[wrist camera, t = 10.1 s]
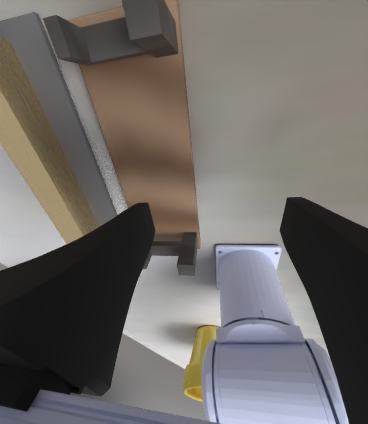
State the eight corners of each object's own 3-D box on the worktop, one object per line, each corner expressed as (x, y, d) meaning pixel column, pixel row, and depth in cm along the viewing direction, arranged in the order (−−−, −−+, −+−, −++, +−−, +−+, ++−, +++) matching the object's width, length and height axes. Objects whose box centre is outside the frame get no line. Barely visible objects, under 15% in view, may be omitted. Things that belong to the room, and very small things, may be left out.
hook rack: (200, 243, 24) (197, 282, 19) (144, 242, 25) (127, 279, 20) (178, 0, 12) (153, -69, 7) (73, 26, 13) (-11, -16, 8)
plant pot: (248, 336, 36) (259, 405, 28) (212, 346, 41) (212, 407, 33) (214, 315, 33) (214, 385, 25) (179, 328, 39) (170, 390, 31)
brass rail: (108, 244, 26) (97, 260, 23) (90, 244, 26) (77, 260, 24) (9, 39, 14) (-35, 28, 11) (-20, 47, 14) (-69, 37, 12)
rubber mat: (130, 247, 26) (129, 249, 26) (77, 246, 28) (75, 248, 27) (38, 14, 13) (33, 12, 13) (-52, 38, 15) (-58, 37, 14)
